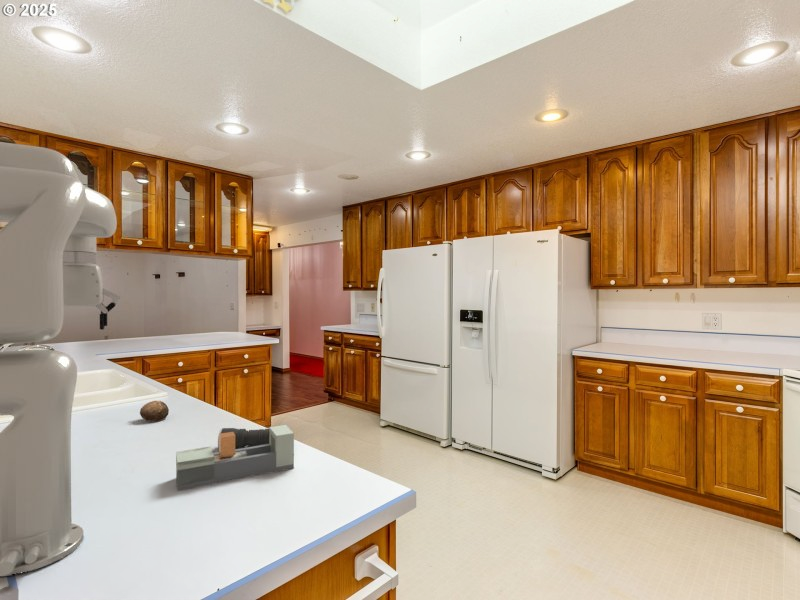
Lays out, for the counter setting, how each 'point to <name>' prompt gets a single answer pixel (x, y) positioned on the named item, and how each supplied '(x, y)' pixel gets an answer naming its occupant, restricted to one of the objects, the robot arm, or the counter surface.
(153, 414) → the brown rounded lump
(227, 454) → the hammer
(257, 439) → the flashlight
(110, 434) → the counter surface
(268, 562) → the counter surface
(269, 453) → the toy lathe
